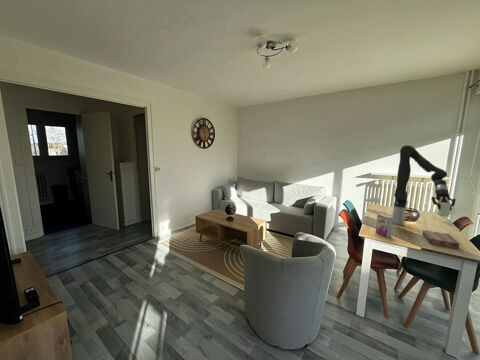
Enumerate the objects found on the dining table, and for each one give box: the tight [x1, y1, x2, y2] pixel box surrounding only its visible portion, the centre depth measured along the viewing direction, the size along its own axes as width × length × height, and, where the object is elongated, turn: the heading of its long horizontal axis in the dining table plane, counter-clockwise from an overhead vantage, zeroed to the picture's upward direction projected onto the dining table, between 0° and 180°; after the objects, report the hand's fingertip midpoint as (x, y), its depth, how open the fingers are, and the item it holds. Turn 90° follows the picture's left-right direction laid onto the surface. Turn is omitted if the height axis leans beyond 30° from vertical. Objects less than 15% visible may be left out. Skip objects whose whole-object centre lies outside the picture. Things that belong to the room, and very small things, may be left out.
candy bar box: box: [375, 213, 394, 238], centre depth 172 cm, size 11×5×16 cm, turn 9°
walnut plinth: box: [422, 229, 460, 249], centre depth 160 cm, size 16×20×4 cm
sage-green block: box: [437, 202, 452, 218], centre depth 157 cm, size 5×5×10 cm
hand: (444, 209), depth 155 cm, fingers closed on sage-green block, 5 cm apart
